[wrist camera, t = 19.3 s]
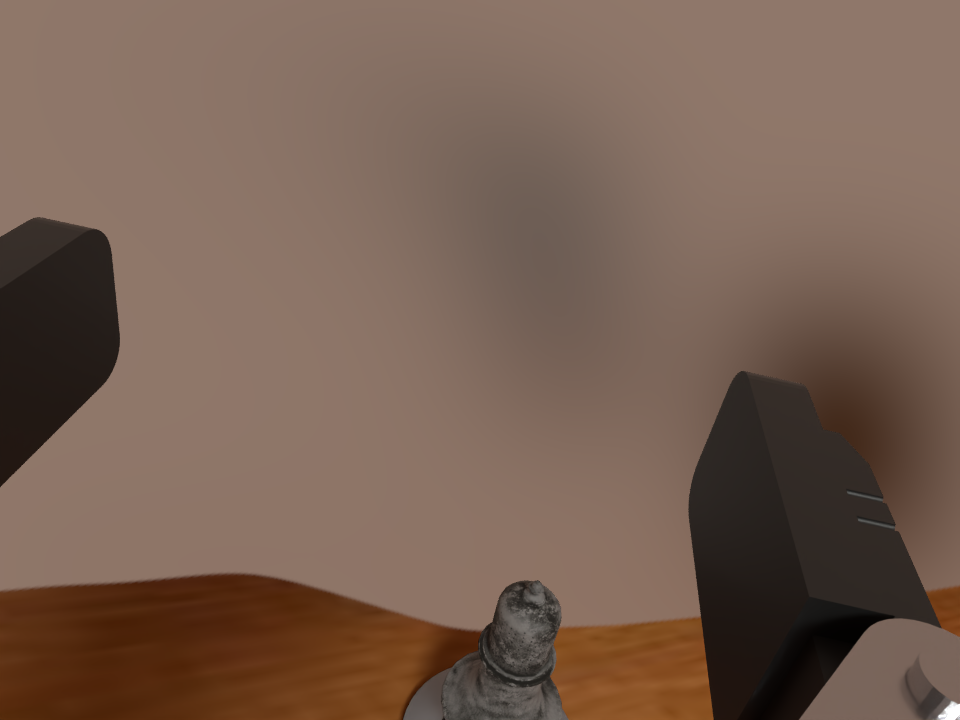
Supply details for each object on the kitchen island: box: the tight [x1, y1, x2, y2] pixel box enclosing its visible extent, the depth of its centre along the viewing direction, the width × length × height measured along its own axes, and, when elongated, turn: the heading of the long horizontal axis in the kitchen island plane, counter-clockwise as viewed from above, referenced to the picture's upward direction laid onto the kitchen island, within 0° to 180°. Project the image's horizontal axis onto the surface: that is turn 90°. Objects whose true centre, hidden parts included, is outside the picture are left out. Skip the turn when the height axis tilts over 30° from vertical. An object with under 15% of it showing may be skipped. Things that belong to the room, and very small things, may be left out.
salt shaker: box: [441, 580, 562, 720], centre depth 36 cm, size 6×6×12 cm
